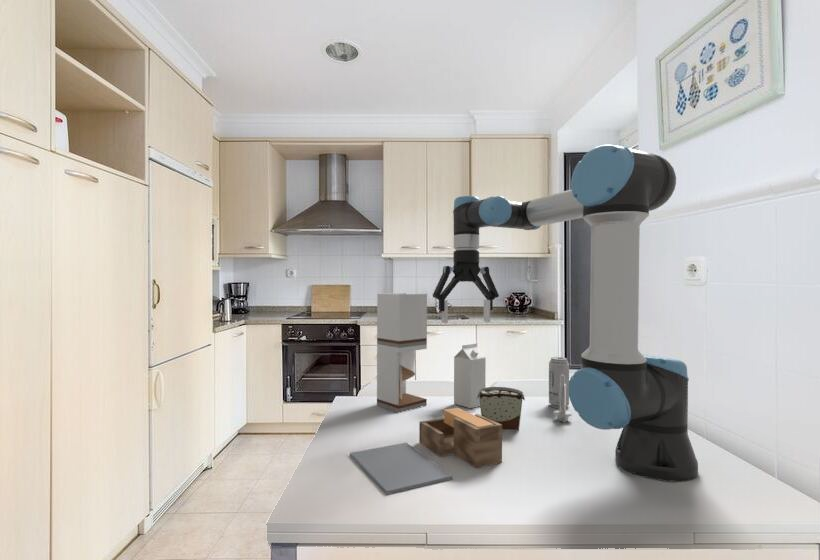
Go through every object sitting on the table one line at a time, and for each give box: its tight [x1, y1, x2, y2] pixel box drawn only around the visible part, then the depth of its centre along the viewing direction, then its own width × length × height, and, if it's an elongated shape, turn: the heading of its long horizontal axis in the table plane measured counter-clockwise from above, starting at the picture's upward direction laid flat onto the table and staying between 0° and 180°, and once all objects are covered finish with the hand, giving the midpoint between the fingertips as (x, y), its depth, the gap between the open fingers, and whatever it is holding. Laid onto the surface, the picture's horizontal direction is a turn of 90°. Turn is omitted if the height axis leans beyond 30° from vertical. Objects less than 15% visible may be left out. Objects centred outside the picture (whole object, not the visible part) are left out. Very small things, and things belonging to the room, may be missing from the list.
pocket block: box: [418, 413, 503, 469], centre depth 100 cm, size 18×14×8 cm
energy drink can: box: [548, 356, 570, 409], centre depth 136 cm, size 6×6×15 cm
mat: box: [349, 442, 453, 495], centre depth 91 cm, size 20×14×1 cm
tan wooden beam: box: [443, 407, 494, 428], centre depth 99 cm, size 14×4×3 cm, turn 27°
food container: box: [477, 386, 526, 432], centre depth 117 cm, size 12×6×10 cm, turn 84°
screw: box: [553, 374, 573, 423], centre depth 122 cm, size 13×5×5 cm
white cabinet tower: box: [376, 292, 428, 413], centre depth 136 cm, size 11×11×35 cm
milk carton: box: [453, 343, 487, 409], centre depth 138 cm, size 7×7×19 cm
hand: (466, 322), depth 128 cm, fingers open, 13 cm apart
